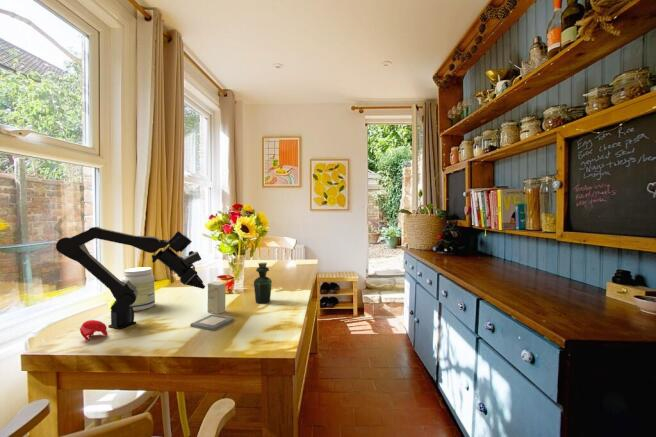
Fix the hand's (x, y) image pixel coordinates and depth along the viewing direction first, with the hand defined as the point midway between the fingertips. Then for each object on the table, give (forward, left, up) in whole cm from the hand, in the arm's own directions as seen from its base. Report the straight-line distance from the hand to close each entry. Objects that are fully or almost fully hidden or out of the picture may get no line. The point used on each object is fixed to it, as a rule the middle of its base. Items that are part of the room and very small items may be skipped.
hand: (203, 285), depth 128 cm
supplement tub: (-4, +33, -12) cm, 35 cm away
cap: (-32, +17, -12) cm, 38 cm away
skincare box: (+4, -3, -12) cm, 13 cm away
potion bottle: (+23, -13, -12) cm, 29 cm away
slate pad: (-7, -11, -12) cm, 18 cm away
